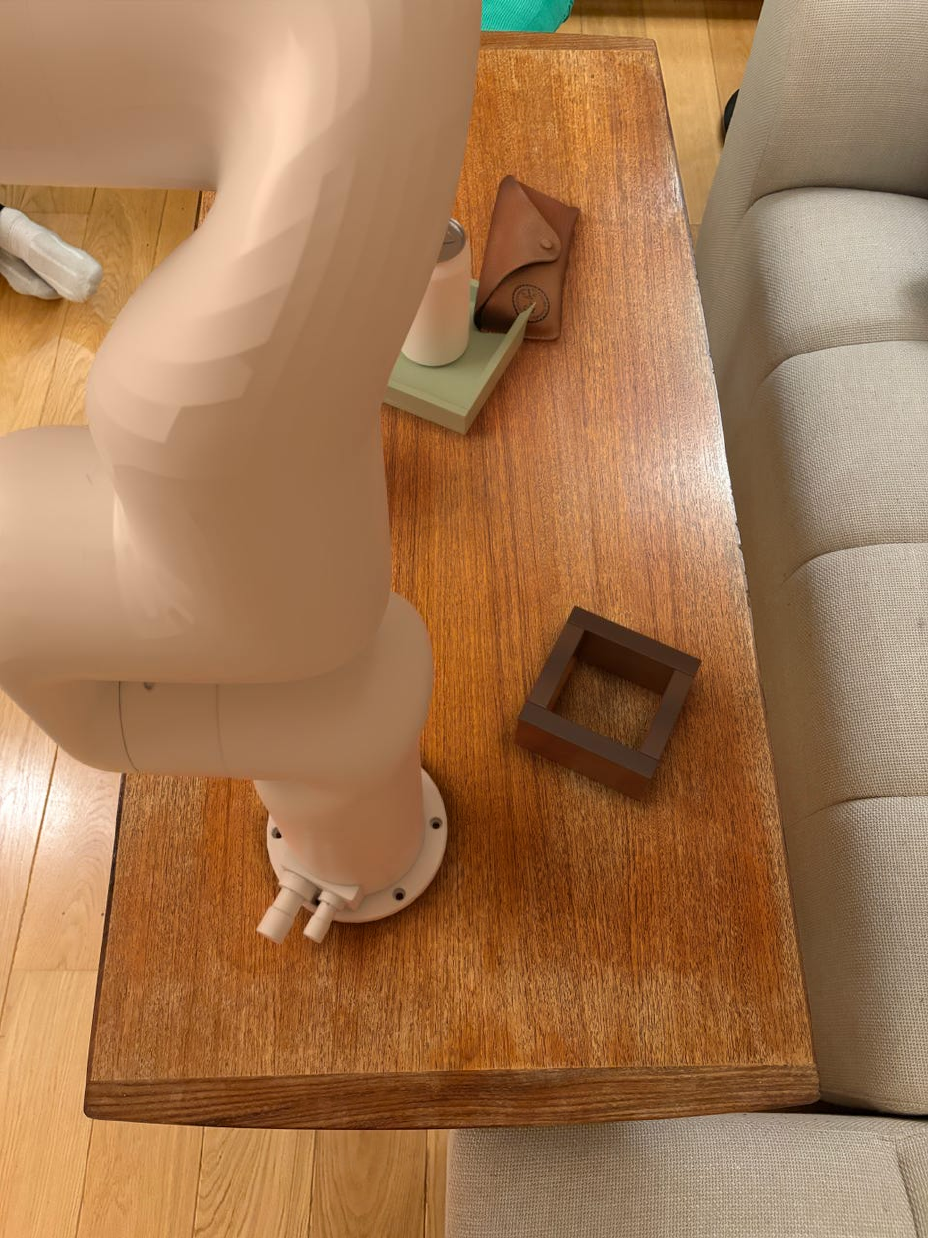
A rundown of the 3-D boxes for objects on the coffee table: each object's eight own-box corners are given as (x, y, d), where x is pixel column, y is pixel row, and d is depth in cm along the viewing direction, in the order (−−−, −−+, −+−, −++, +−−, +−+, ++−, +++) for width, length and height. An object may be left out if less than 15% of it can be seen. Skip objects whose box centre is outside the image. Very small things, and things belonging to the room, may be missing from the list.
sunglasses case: (565, 340, 91) (533, 288, 87) (497, 360, 95) (462, 311, 90) (582, 204, 100) (553, 149, 95) (519, 226, 103) (488, 175, 98)
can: (389, 323, 92) (381, 217, 82) (456, 308, 93) (458, 201, 83) (408, 376, 90) (403, 273, 79) (478, 360, 91) (482, 256, 80)
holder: (639, 801, 73) (651, 779, 68) (513, 743, 75) (517, 718, 70) (687, 687, 77) (702, 660, 72) (567, 634, 79) (574, 604, 74)
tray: (464, 435, 87) (465, 416, 85) (318, 376, 90) (315, 356, 88) (534, 322, 94) (536, 302, 91) (395, 270, 96) (394, 248, 94)
